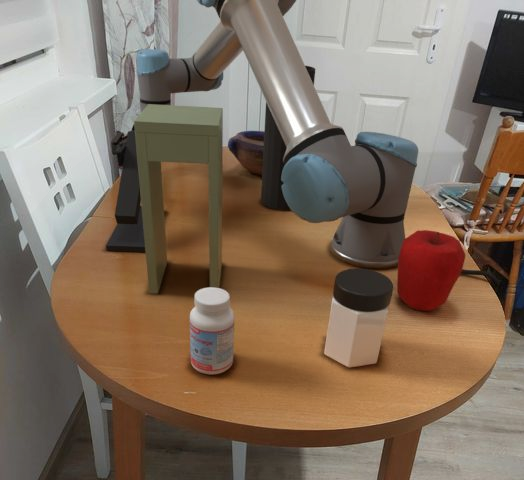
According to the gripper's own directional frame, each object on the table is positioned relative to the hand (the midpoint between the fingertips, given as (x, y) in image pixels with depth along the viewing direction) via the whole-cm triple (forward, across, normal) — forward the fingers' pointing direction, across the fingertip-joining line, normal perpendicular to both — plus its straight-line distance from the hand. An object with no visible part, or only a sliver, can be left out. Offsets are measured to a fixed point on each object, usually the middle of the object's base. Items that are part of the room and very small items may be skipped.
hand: (131, 160), depth 104 cm
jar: (+43, -40, -14) cm, 61 cm away
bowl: (-44, -28, -15) cm, 55 cm away
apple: (+29, -54, -14) cm, 63 cm away
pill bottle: (+48, -19, -14) cm, 53 cm away
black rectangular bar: (0, 0, -4) cm, 4 cm away
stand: (+22, -13, -14) cm, 29 cm away
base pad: (+1, 0, -14) cm, 14 cm away
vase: (-19, -32, -14) cm, 40 cm away
